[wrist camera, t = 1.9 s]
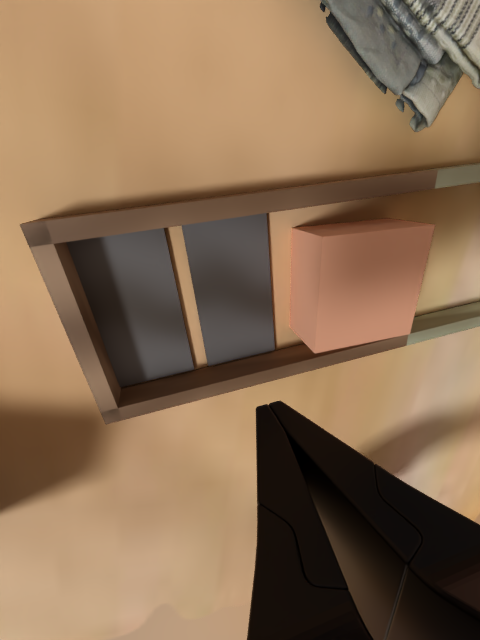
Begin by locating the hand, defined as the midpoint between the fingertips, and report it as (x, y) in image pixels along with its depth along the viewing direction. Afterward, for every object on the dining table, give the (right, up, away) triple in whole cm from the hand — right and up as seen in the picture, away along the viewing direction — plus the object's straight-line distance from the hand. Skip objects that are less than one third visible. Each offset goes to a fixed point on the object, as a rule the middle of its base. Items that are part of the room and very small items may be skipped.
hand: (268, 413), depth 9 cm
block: (+6, +6, +11) cm, 14 cm away
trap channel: (+6, +6, +11) cm, 14 cm away
